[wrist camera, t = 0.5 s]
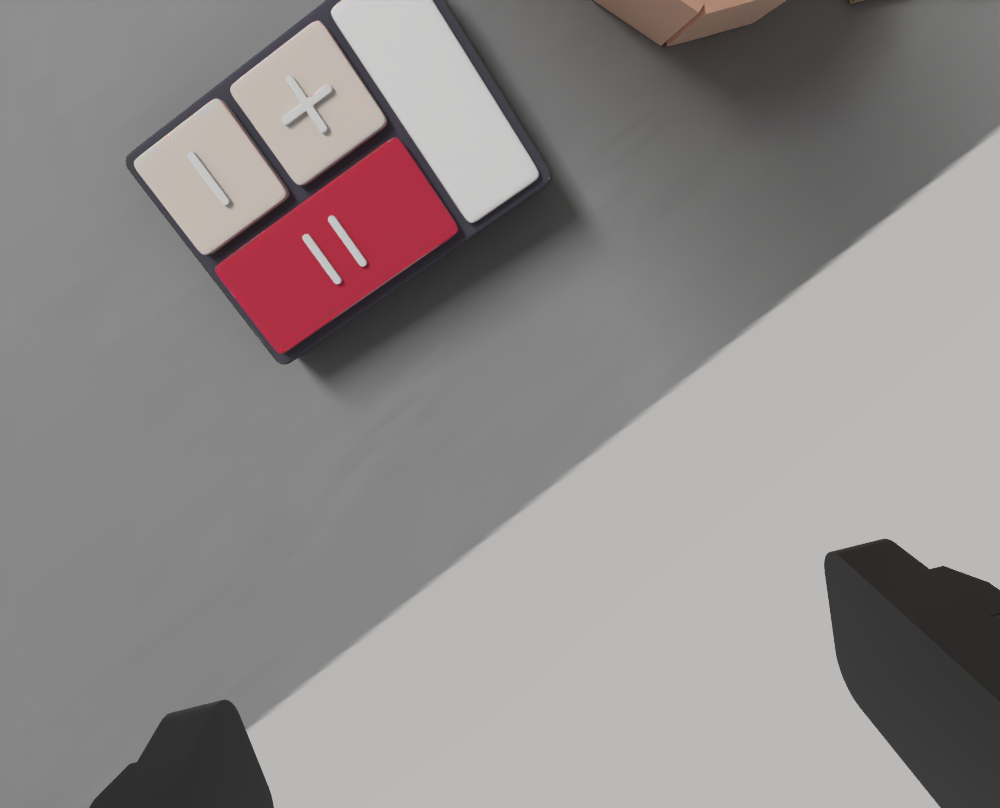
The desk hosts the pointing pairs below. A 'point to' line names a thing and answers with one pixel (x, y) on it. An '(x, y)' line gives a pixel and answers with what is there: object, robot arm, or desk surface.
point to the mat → (854, 1)
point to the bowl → (687, 16)
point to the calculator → (340, 165)
